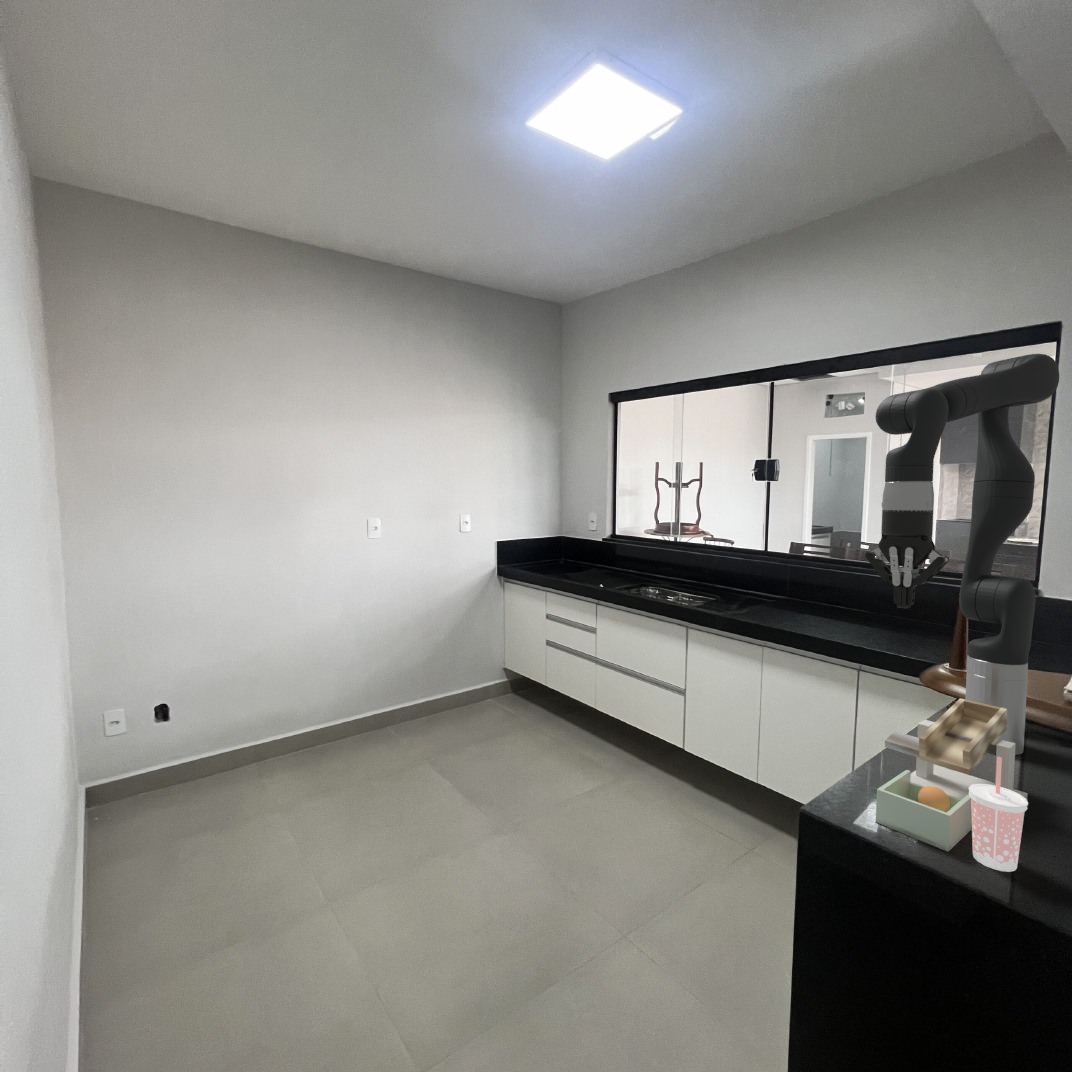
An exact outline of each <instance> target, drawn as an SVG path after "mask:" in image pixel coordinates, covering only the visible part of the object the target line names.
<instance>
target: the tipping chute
mask: <svg viewBox="0 0 1072 1072" xmlns="http://www.w3.org/2000/svg"><path fill="white" fill-rule="evenodd" d="M965 699H966V698H959V699H957V701H956V702H955V703H953V705H952V706H950V707H949V708H948V709H946V711H945V712H944V713H943V714H942V715H941V716H940V717H939V718H937V720H936V721H934V722H935V723H934V724H933V725H932V726H931V727H930V728H929V729H927V730H926V731H925V732H924V733H923V734H922V735H921V736H920V737H919V738H917V736H913V735H909V734H906V733H902V732H899V731H894V732H893V733H891V734H890V735H889V736H888V737H887V738H886V739H885V740H884V748H887V749H889V750H894V751H896V752H900V753H903V754H906V755H909V756H912V757H915V758H916V757H918V758H919V759H921V760H924V761H927V762H931V763H934V764H935V765H938V766H942V767H945V768H948V769H951V770H954V771H958V772H961V773H964V774H967V775H970V774H971V773H972V772H973V771H974V770H975V768H976V767H977V766H978V765H979V763H980V762H981V761H982V760H983V759H984V758H985V757H986V755H987V754H992V755H995V756H996V749H997V746H996V745H994V744H995V743H996V742H997V741H998V739H999V738H1000V737H1001V736H1002V735H1003V733H1004V732H1005V731H1006V730H1007V709H1005V708H1000V707H996V706H992V705H987V704H983V703H978V702H974V701H970V700H965Z"/></svg>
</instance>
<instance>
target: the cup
mask: <svg viewBox="0 0 1072 1072" xmlns="http://www.w3.org/2000/svg"><path fill="white" fill-rule="evenodd" d="M911 773H912V772H911V770H908V769H906V770H904V771H902V772H901V773H899V774H898V775H897V776H895V777H893V778H892V779H890V780H889V781H887V782H885V783H884V784H882V785H881V786H879V787H878V788H877V789H876V802H875V803H876V806H875V823H877V824H879V825H882V826H884V825H885V826H884V827H886V826H887V828H889V827H890V828H889V829H892V830H894V831H897V832H899V833H901V834H904V835H907V836H909V837H911V838H913V839H916V840H919V841H920V842H923V843H925V844H929V845H930V846H933V847H935V848H938V849H940V850H943V851H945V852H947V853H948V852H950V850H952V849H953V848H954V847H955V846H957V844H958V843H959V842H960V841H961V840H962V839H963V838H964V837H965V836H967V834H968V833H969V832H970V831H972V812H971V797H970V795H969V794H968V795H966V796H965V797H964V798H963V799H959V798H956V797H953V796H950V795H947V796H948V797H949V800H950V808H949V810H948V811H947V812H943V811H940V810H938V809H935V808H932V807H929V806H927V805H924V804H921V803H919V801H918V794H919V791H920V790H921V789H922V788H924V786H921V785H918V784H915V783H912V782H910V777H911Z"/></svg>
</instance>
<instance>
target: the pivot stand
mask: <svg viewBox="0 0 1072 1072" xmlns="http://www.w3.org/2000/svg"><path fill="white" fill-rule="evenodd" d="M935 722H936V721H931V720H927V719H924V720H922V721H920V722H918V723H917V733H916V735H917V736H916V737H917V738H919V737H920V736H921V735H922V734H923V733H924V732H925V731H926V730H927V729H929V728H930V727H931V726H932V725H933V724H934V723H935ZM1015 744H1016V743H1012V742H1008V741H1005V740H1002V741H1001V742H1000V743H998V744H997V749H996V755H995V768H994V769H995V770H994V771H995V772H994V774H995V775H994V782H992V781H990V780H986V779H983V778H980V777H976V776H973V775H970V774H966V773H963V772H960V771H956V770H953V769H950V768H947V767H943V766H940V765H937V764H934V763H931V762H927V761H924V760H921V759H919V758H918V757H915V758H916V760H915V770H913V771H912V772H911V777H910V782H912V783H915V784H918V785H921V786H924V787H926V786H935V787H938V788H940V789H941V790H943V791H944V792H945V793H946V794H947V795H950V796H953V797H956V798H959V799H963V798H964V797H965V796H966V795H968V794H969V787H970V786H971V785H973V784H990V785H995V786H996V771H997V757H1002V764H1001V784H1000V787H1003V788H1006V789H1009V790H1012V791H1014V792H1016V793H1018V794H1020V795H1022V796H1023V797H1024V798H1026V800H1027V801H1028V793H1027V792H1025V791H1021V790H1019V789H1015V788H1014V784H1015V783H1014V781H1015V780H1014V779H1015V762H1016V755H1015Z"/></svg>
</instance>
